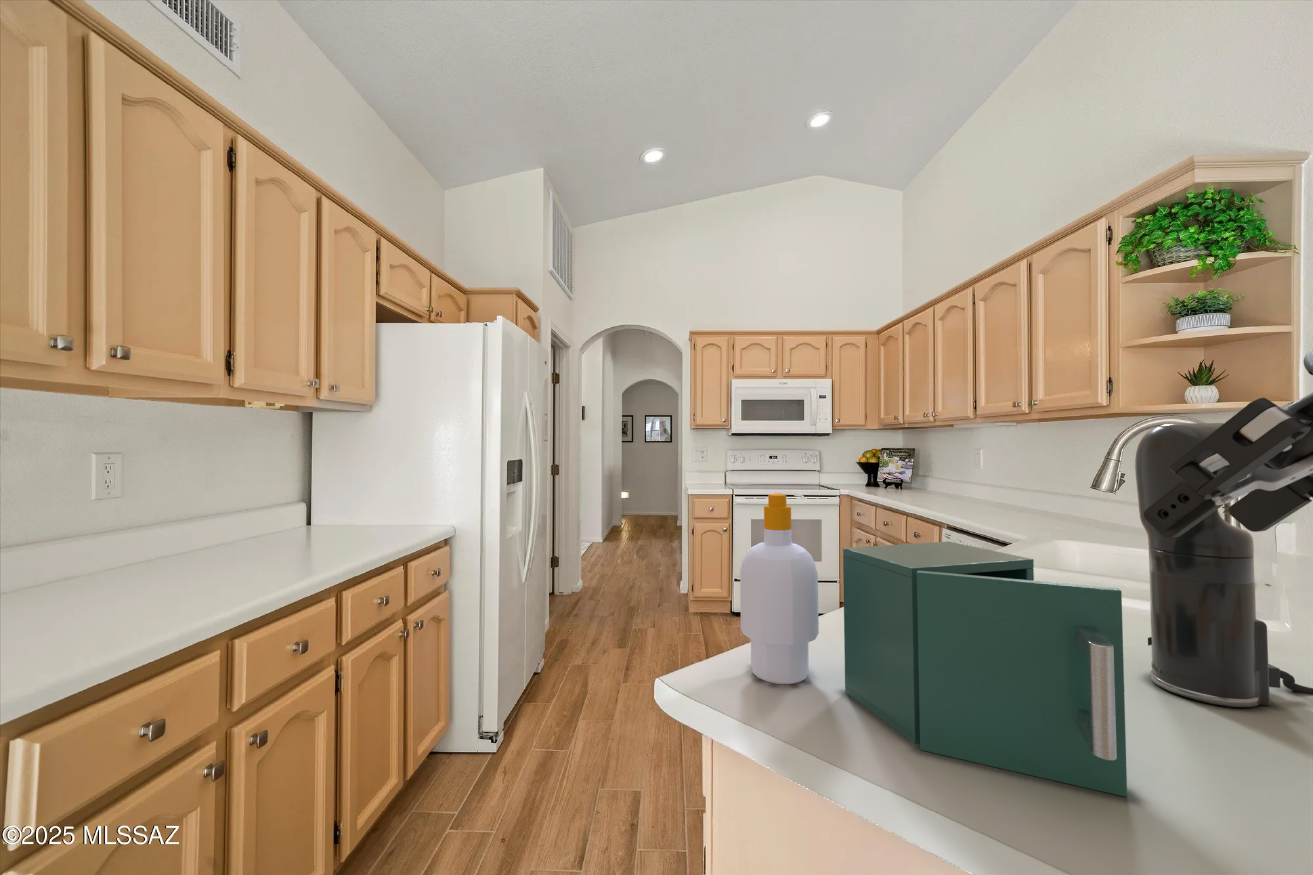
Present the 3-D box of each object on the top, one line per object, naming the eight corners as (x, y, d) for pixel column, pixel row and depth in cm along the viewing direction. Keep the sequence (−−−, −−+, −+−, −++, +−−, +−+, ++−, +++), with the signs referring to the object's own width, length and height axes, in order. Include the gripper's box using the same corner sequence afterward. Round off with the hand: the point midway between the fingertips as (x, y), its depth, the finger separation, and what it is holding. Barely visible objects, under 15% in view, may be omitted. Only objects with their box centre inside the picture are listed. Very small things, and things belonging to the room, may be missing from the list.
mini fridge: (1037, 723, 58) (1033, 559, 59) (914, 745, 54) (911, 568, 55) (951, 678, 70) (948, 541, 70) (844, 693, 66) (842, 547, 66)
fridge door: (1149, 837, 41) (1142, 606, 41) (918, 779, 48) (915, 584, 49) (1123, 790, 47) (1118, 587, 47) (920, 745, 54) (917, 570, 54)
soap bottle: (818, 663, 75) (815, 492, 76) (820, 695, 65) (817, 498, 66) (745, 656, 78) (743, 491, 79) (736, 686, 68) (734, 497, 69)
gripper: (1497, 365, 22) (1174, 578, 33) (1663, 375, 26) (1322, 563, 37) (1309, 278, 27) (1084, 486, 38) (1469, 297, 31) (1221, 482, 42)
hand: (1201, 524), depth 37 cm, fingers open, 8 cm apart
